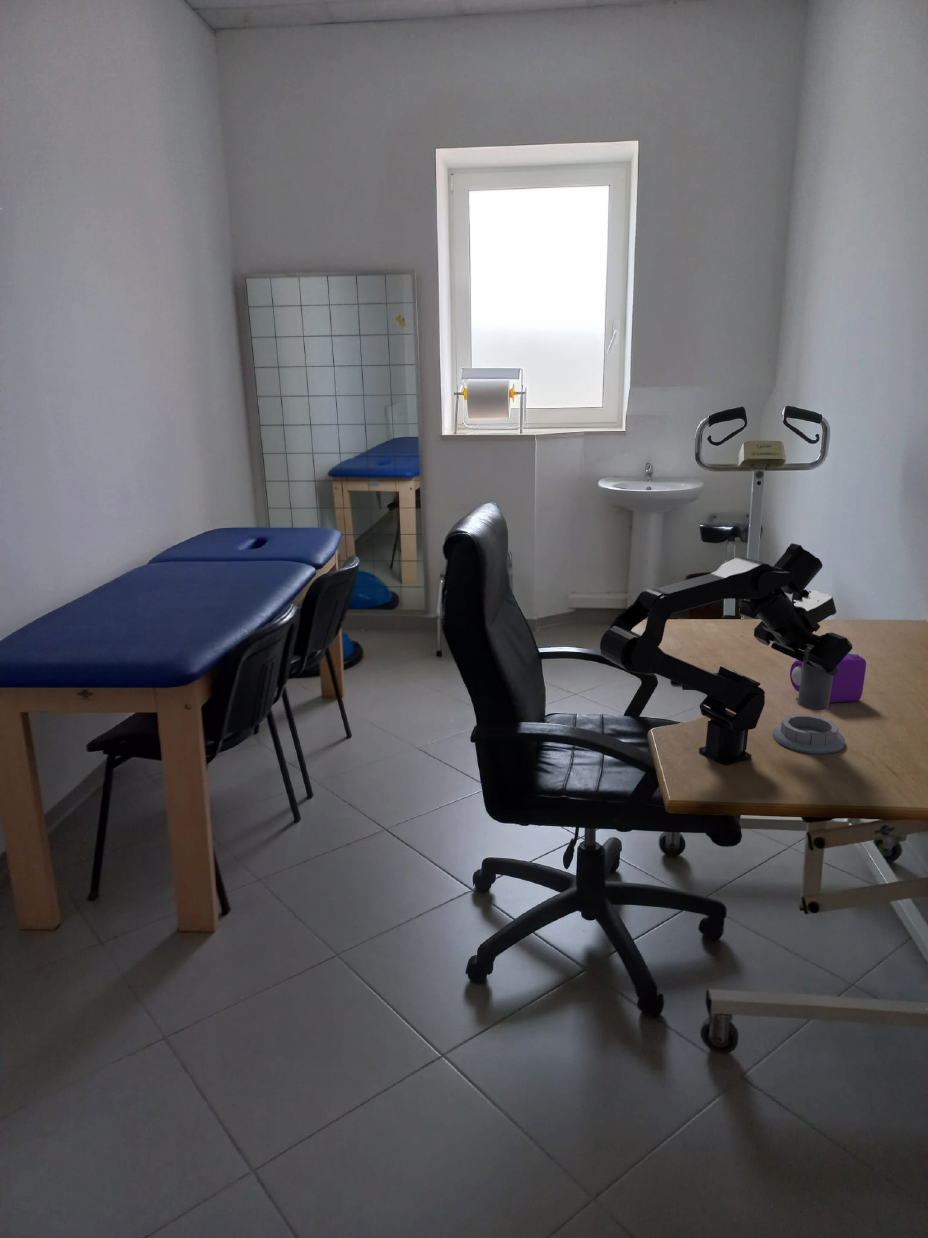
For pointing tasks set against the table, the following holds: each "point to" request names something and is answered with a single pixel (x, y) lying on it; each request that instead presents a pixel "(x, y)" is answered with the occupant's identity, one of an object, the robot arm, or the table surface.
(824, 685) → the grey domed cylinder
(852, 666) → the toy camera
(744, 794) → the table surface
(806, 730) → the ring
